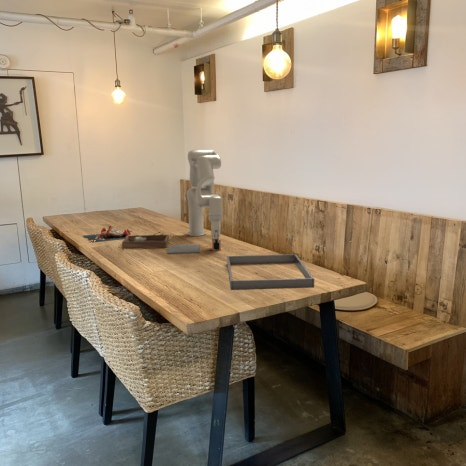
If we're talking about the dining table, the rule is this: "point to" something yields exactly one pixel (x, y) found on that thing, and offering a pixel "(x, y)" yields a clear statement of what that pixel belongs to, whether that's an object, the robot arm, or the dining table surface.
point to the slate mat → (183, 249)
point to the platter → (108, 235)
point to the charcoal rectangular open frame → (269, 283)
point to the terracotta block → (219, 244)
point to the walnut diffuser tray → (146, 242)
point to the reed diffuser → (144, 238)
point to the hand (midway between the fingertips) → (216, 247)
